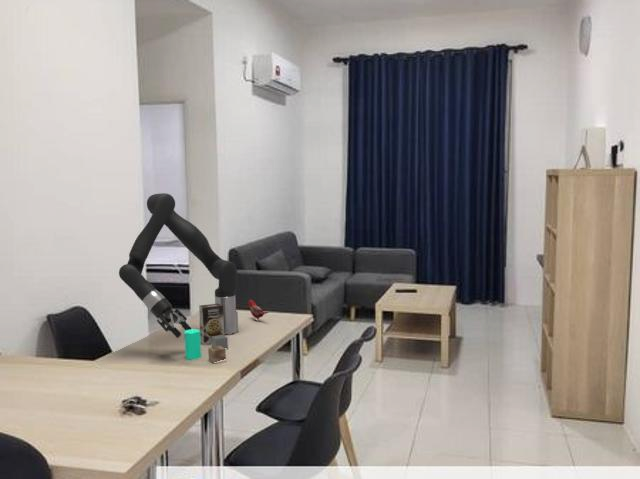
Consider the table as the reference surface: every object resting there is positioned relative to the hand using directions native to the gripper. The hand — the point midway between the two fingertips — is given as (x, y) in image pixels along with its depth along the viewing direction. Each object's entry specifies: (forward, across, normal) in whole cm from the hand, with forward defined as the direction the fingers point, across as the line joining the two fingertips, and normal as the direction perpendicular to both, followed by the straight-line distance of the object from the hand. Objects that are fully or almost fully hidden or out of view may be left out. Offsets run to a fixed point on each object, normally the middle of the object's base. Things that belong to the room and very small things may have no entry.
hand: (184, 333), depth 225 cm
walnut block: (+17, -3, -4) cm, 18 cm away
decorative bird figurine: (+13, +59, 0) cm, 60 cm away
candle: (+9, 0, +4) cm, 10 cm away
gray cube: (+13, +13, 0) cm, 18 cm away
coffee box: (+8, +21, +6) cm, 23 cm away
